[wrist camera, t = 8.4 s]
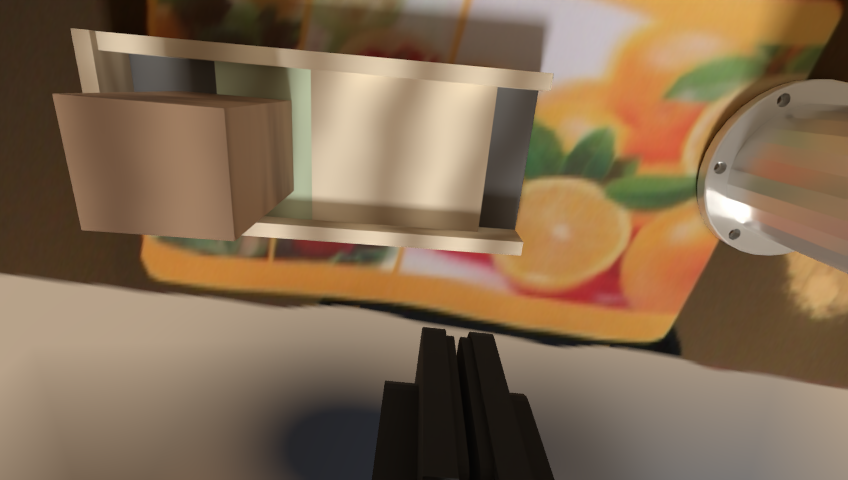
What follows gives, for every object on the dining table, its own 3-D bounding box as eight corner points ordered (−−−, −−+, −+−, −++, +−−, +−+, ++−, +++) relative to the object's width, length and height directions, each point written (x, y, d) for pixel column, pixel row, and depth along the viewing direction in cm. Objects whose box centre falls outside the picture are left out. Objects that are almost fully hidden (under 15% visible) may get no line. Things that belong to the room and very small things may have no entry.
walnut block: (291, 100, 27) (223, 108, 17) (293, 190, 29) (234, 241, 20) (181, 91, 26) (52, 93, 17) (191, 182, 29) (81, 230, 19)
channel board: (539, 74, 28) (556, 73, 25) (511, 240, 32) (522, 258, 29) (112, 35, 27) (70, 28, 23) (141, 213, 31) (108, 228, 28)
